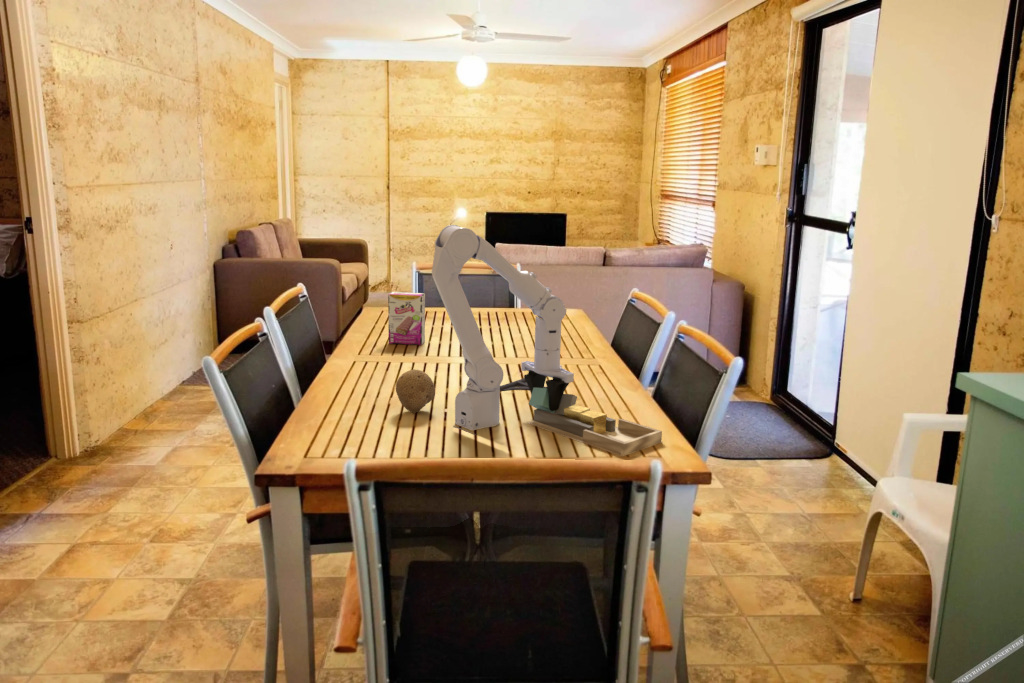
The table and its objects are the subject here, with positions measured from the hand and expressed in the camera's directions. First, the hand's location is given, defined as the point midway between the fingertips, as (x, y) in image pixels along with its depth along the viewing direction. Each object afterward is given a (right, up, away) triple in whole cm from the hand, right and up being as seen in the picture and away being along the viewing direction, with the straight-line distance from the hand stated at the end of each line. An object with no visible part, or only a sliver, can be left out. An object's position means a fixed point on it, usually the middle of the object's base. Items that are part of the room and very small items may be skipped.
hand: (545, 407), depth 174 cm
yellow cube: (+10, -4, -10) cm, 14 cm away
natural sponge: (-30, -2, +6) cm, 30 cm away
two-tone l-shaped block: (+3, 0, 0) cm, 3 cm away
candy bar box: (-42, +14, +77) cm, 89 cm away
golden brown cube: (+6, -4, -6) cm, 9 cm away
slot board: (+9, -5, -9) cm, 14 cm away
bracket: (-1, +2, +26) cm, 26 cm away
